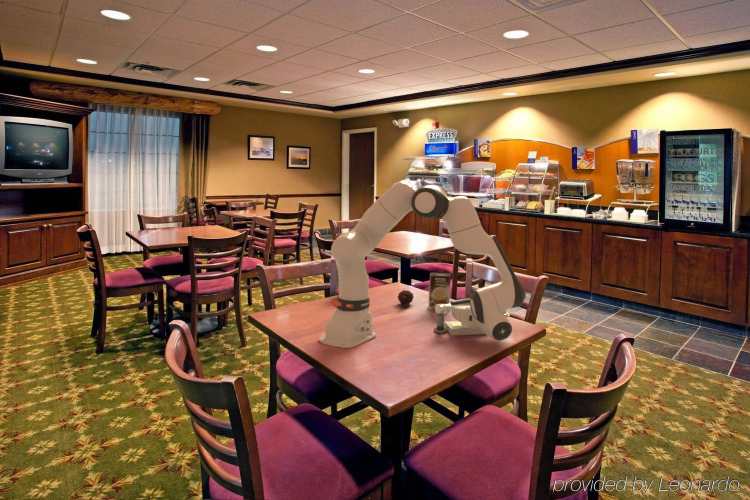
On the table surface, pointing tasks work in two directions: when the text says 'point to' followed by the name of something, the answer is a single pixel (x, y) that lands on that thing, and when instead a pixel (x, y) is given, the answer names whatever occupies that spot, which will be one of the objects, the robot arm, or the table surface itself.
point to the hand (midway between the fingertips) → (472, 306)
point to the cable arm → (450, 306)
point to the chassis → (460, 328)
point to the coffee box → (439, 289)
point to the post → (440, 324)
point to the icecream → (405, 297)
